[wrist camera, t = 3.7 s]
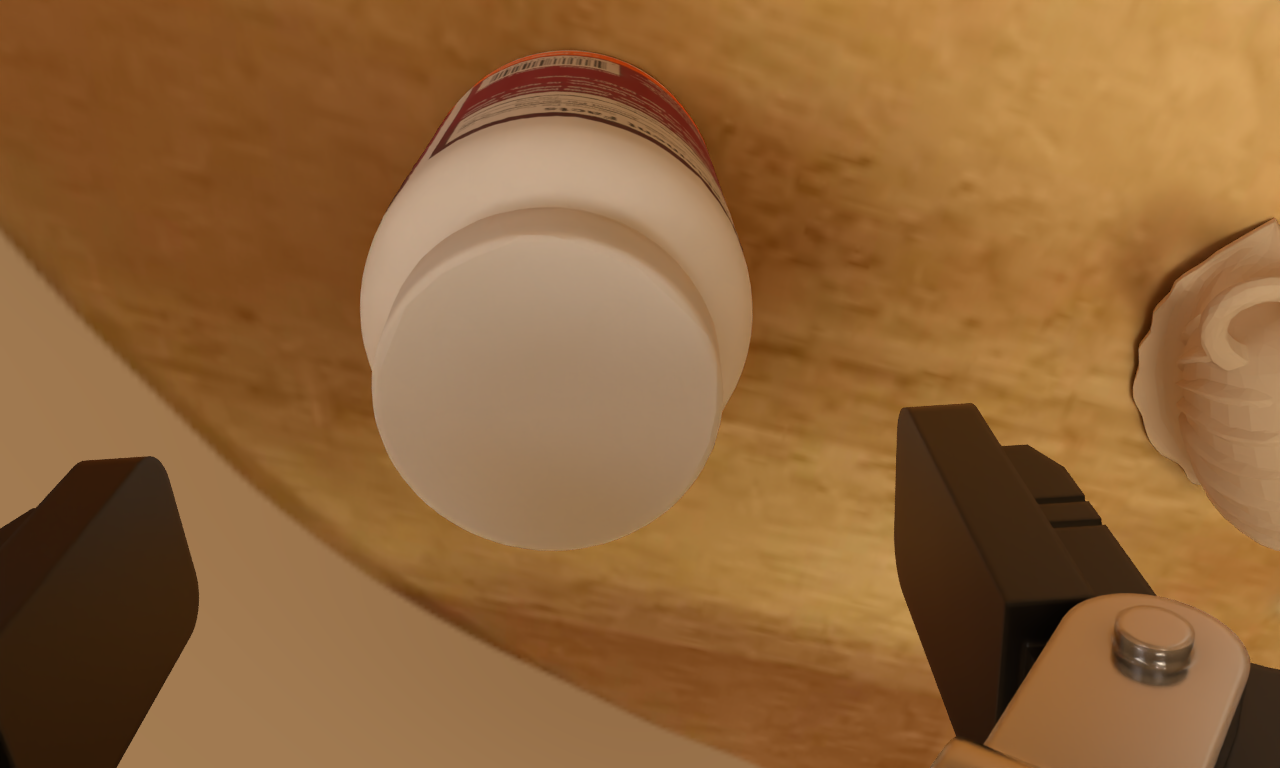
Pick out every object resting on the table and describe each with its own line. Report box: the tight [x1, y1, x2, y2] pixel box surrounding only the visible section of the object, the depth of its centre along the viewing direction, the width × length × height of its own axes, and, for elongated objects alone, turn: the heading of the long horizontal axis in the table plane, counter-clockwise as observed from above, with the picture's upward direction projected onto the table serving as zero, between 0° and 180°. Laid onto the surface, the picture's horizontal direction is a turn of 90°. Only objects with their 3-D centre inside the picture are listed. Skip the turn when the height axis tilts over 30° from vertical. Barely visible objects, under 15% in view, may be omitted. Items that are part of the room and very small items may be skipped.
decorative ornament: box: [1133, 218, 1280, 551], centre depth 24 cm, size 4×8×5 cm, turn 22°
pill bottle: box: [360, 50, 752, 551], centre depth 20 cm, size 6×6×11 cm
